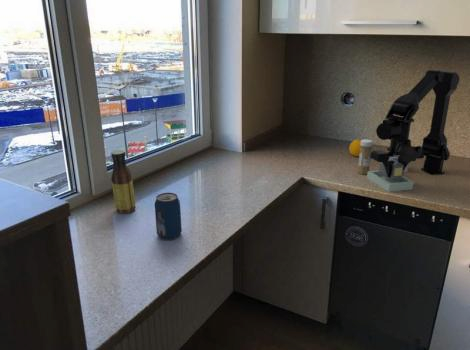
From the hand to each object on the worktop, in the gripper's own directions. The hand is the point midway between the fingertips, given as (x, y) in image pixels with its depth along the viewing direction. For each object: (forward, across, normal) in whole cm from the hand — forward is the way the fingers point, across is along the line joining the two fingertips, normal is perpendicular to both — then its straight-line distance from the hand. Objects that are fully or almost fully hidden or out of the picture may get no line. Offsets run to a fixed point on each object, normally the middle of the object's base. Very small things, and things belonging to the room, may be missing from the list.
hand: (394, 176), depth 147 cm
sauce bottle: (+4, -96, +3) cm, 96 cm away
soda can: (+4, -84, -17) cm, 86 cm away
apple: (+4, +7, +36) cm, 37 cm away
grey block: (+1, 0, +2) cm, 2 cm away
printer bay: (+4, +11, +14) cm, 18 cm away
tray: (+4, 0, +2) cm, 4 cm away
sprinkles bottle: (+4, -3, +15) cm, 16 cm away
